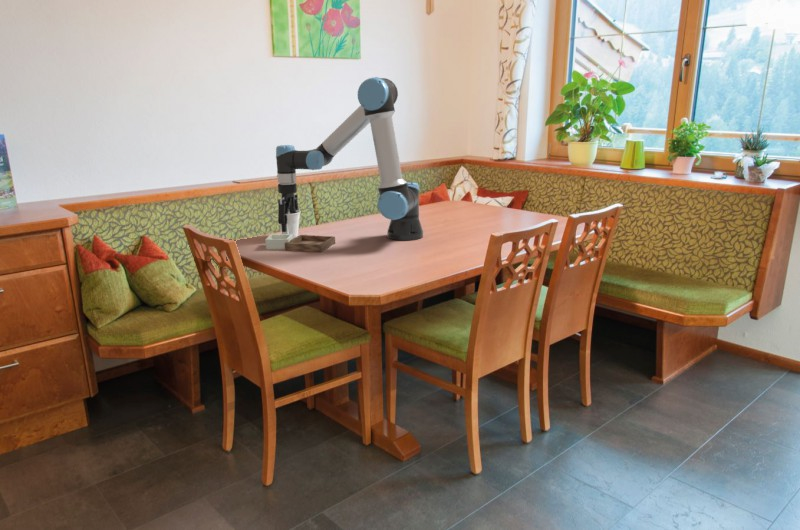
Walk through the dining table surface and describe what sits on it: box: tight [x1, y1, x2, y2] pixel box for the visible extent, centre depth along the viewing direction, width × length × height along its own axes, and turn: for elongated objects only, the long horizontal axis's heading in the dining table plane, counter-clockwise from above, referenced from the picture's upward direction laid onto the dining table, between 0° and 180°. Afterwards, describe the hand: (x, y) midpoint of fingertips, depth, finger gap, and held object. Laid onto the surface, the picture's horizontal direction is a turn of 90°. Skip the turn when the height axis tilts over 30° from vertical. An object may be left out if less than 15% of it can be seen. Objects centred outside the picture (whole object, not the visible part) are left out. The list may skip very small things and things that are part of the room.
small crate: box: [264, 233, 293, 251], centre depth 240 cm, size 9×9×4 cm
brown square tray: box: [284, 234, 336, 253], centre depth 240 cm, size 15×15×3 cm
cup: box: [276, 210, 302, 239], centre depth 255 cm, size 10×10×11 cm
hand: (290, 236), depth 256 cm, fingers closed on cup, 8 cm apart
